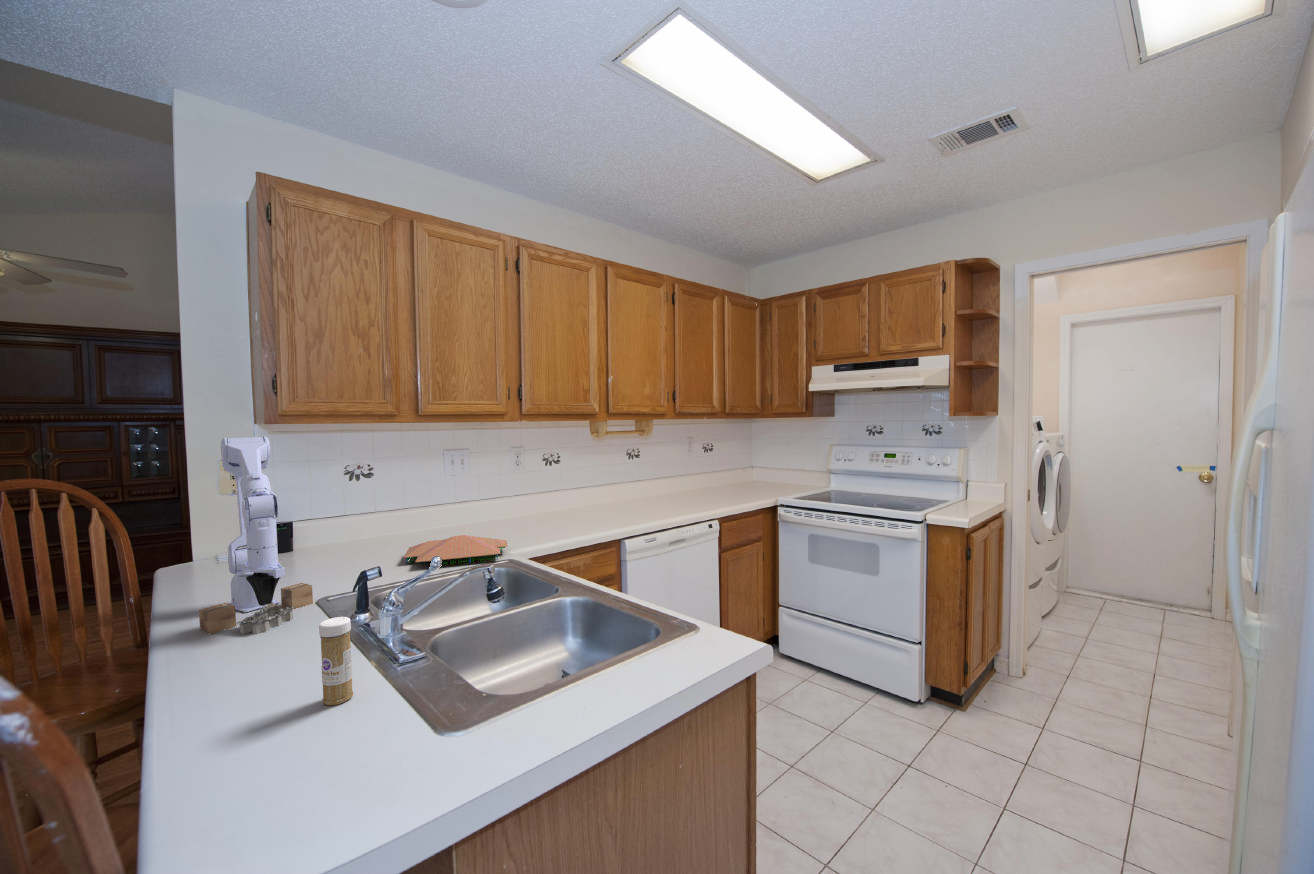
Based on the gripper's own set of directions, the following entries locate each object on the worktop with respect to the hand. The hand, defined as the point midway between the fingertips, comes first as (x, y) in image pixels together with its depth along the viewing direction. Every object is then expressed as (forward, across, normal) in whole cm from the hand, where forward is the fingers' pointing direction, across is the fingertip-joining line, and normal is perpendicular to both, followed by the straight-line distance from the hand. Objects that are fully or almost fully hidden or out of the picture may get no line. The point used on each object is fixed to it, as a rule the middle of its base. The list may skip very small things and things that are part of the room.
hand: (265, 604), depth 126 cm
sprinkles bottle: (+5, +50, -13) cm, 52 cm away
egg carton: (+5, 0, 0) cm, 5 cm away
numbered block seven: (+5, -8, -6) cm, 12 cm away
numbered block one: (+5, -8, +11) cm, 14 cm away
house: (+6, -7, +62) cm, 63 cm away
